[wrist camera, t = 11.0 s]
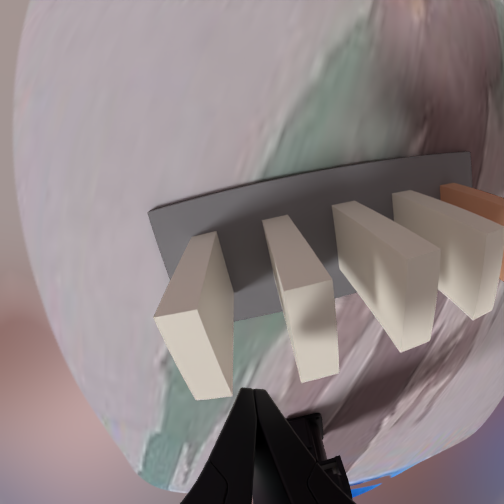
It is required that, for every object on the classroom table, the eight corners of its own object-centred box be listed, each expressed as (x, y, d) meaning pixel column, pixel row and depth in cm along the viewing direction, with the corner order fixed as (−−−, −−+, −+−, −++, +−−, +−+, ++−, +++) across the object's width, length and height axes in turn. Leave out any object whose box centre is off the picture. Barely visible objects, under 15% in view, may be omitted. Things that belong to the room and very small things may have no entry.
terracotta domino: (454, 182, 19) (543, 213, 9) (454, 237, 20) (532, 285, 11) (439, 185, 19) (532, 218, 9) (441, 241, 20) (520, 293, 11)
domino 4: (410, 190, 19) (506, 227, 9) (412, 249, 21) (492, 310, 11) (391, 193, 19) (486, 234, 10) (395, 254, 21) (472, 320, 11)
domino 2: (287, 214, 19) (332, 279, 10) (299, 278, 21) (339, 373, 12) (262, 220, 19) (284, 291, 10) (275, 284, 21) (301, 382, 12)
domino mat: (466, 253, 22) (470, 255, 21) (190, 325, 23) (189, 329, 22) (465, 151, 18) (470, 152, 18) (149, 210, 19) (147, 212, 19)
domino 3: (354, 200, 19) (440, 249, 10) (360, 263, 21) (429, 340, 11) (331, 205, 19) (407, 258, 10) (339, 268, 21) (400, 352, 12)
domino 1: (216, 231, 19) (196, 309, 10) (234, 293, 21) (232, 395, 12) (191, 236, 19) (153, 317, 10) (211, 298, 21) (196, 400, 12)
